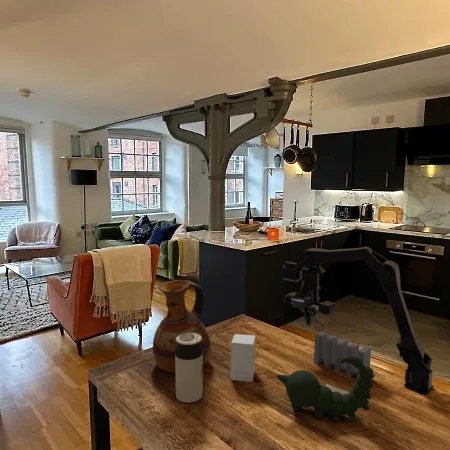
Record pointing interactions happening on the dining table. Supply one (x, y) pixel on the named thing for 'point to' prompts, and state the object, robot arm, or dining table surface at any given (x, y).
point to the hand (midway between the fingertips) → (309, 325)
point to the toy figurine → (329, 392)
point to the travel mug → (189, 367)
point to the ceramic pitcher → (179, 323)
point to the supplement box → (243, 357)
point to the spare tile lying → (337, 389)
